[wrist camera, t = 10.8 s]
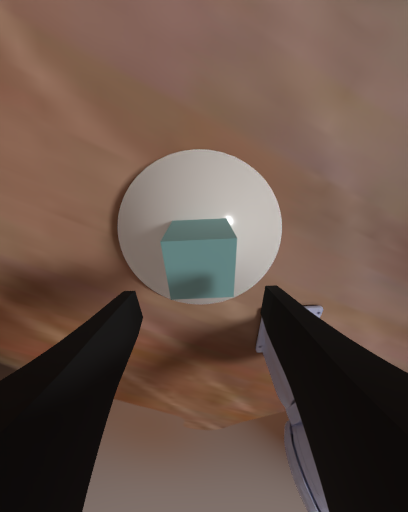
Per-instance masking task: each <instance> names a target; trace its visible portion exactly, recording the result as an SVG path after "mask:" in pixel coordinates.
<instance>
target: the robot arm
mask: <svg viewBox="0 0 408 512" xmlns="http://www.w3.org/2000/svg"><path fill="white" fill-rule="evenodd" d="M322 311H323V308H322V306H303V305H301V304H300V303H299V302H297V301H296V300H295V299H294V298H292V297H291V296H290V295H288V294H287V293H286V292H285V291H283V290H282V289H281V288H279V287H278V286H265V292H264V297H263V303H262V308H261V316H262V318H261V323H260V328H259V333H258V339H257V344H256V352H263V355H264V358H265V361H266V364H267V366H268V369H269V372H270V375H271V378H272V381H273V384H274V387H275V390H276V393H277V395H278V397H279V399H280V401H281V402H282V404H283V405H284V406H285V408H286V412H287V415H288V418H289V421H287V422H286V424H285V434H284V443H285V450H286V455H287V459H288V463H289V467H290V470H291V473H292V475H293V479H294V481H295V484H296V487H297V489H298V492H299V494H300V496H301V499H302V501H303V503H304V505H305V507H306V509H307V511H308V512H408V373H406V372H405V371H403V370H401V369H399V368H398V367H396V366H394V365H392V364H390V363H389V362H387V361H385V360H383V359H382V358H380V357H378V356H377V355H375V354H373V353H372V352H370V351H368V350H367V349H365V348H364V347H362V346H360V345H359V344H357V343H356V342H354V341H352V340H351V339H349V338H348V337H346V336H345V335H343V334H342V333H340V332H339V331H337V330H336V329H334V328H333V327H331V326H330V325H328V324H327V323H326V322H324V321H323V320H321V319H320V316H321V314H322ZM142 319H143V316H142V312H141V309H140V306H139V302H138V299H137V296H136V292H135V291H124V292H122V293H121V294H120V295H118V296H117V297H116V298H115V299H113V300H112V301H111V302H110V303H109V304H107V305H106V306H105V307H104V308H102V309H101V310H100V311H99V312H98V313H96V314H95V315H94V316H93V317H91V318H90V319H89V320H88V321H86V322H85V323H84V324H82V325H81V326H80V327H78V328H77V329H76V330H75V331H73V332H72V333H71V334H69V335H68V336H67V337H65V338H64V339H63V340H61V341H60V342H59V343H57V344H56V345H54V346H53V347H51V348H50V349H49V350H47V351H46V352H44V353H43V354H41V355H40V356H38V357H37V358H35V359H34V360H32V361H31V362H29V363H28V364H26V365H25V366H23V367H22V368H20V369H18V370H17V371H15V372H14V373H12V374H10V375H9V376H7V377H6V378H4V379H2V380H1V381H0V512H82V510H83V506H84V502H85V498H86V493H87V490H88V486H89V482H90V478H91V475H92V471H93V467H94V463H95V460H96V456H97V453H98V449H99V445H100V442H101V438H102V435H103V431H104V428H105V425H106V421H107V418H108V414H109V412H110V408H111V405H112V402H113V399H114V396H115V393H116V390H117V387H118V384H119V382H120V379H121V377H122V374H123V372H124V369H125V367H126V364H127V362H128V359H129V357H130V355H131V352H132V350H133V347H134V345H135V342H136V340H137V337H138V334H139V330H140V327H141V323H142Z"/></svg>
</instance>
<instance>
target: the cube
mask: <svg viewBox="0 0 408 512" xmlns="http://www.w3.org/2000/svg"><path fill="white" fill-rule="evenodd" d="M160 243H161V248H162V254H163V259H164V265H165V270H166V276H167V281H168V287H169V292H170V298H171V300H176V299H199V298H223V297H234V283H235V267H236V250H237V237H236V235H235V233H234V231H233V230H232V228H231V226H230V224H229V222H228V220H227V218H221V219H198V220H176V221H172V222H171V224H170V226H169V227H168V229H167V231H166V233H165V234H164V236H163V238H162V240H161V241H160Z"/></svg>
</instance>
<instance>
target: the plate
mask: <svg viewBox="0 0 408 512" xmlns="http://www.w3.org/2000/svg"><path fill="white" fill-rule="evenodd" d="M221 218H227V220H228V222H229V224H230V226H231V228H232V230H233V231H234V233H235V235H236V237H237V250H236V267H235V283H234V297H236V296H238V295H240V294H242V293H244V292H245V291H247V290H248V289H250V288H251V287H252V286H254V285H255V284H256V283H257V282H258V281H259V280H260V279H261V278H262V277H263V276H264V275H265V274H266V272H267V271H268V269H269V268H270V266H271V265H272V263H273V261H274V259H275V257H276V255H277V252H278V249H279V245H280V242H281V234H282V220H281V213H280V209H279V206H278V202H277V200H276V197H275V195H274V193H273V191H272V189H271V188H270V186H269V185H268V184H267V182H266V181H265V179H264V178H263V177H262V176H261V175H260V174H259V173H258V172H257V171H256V170H255V169H253V168H252V167H251V166H249V165H248V164H247V163H245V162H243V161H241V160H240V159H238V158H236V157H234V156H231V155H228V154H225V153H223V152H218V151H212V150H199V149H195V150H186V151H181V152H177V153H173V154H170V155H168V156H165V157H163V158H161V159H159V160H157V161H155V162H154V163H152V164H151V165H149V166H148V167H146V168H145V169H144V170H143V171H142V172H141V173H140V174H139V175H138V176H137V177H136V178H135V180H134V181H133V182H132V183H131V185H130V186H129V188H128V190H127V192H126V193H125V195H124V198H123V200H122V203H121V206H120V210H119V215H118V227H117V229H118V239H119V243H120V247H121V250H122V253H123V255H124V258H125V260H126V262H127V263H128V265H129V267H130V268H131V270H132V271H133V272H134V274H135V275H136V276H137V277H138V278H139V279H140V280H141V281H142V282H143V283H144V284H145V285H146V286H148V287H149V288H150V289H152V290H153V291H155V292H157V293H158V294H160V295H162V296H164V297H167V298H169V299H171V298H170V292H169V287H168V281H167V276H166V270H165V265H164V259H163V254H162V248H161V243H160V241H161V240H162V238H163V236H164V234H165V233H166V231H167V229H168V227H169V226H170V224H171V222H172V221H176V220H198V219H221ZM234 297H223V298H199V299H176V300H175V301H178V302H183V303H189V304H212V303H217V302H222V301H225V300H229V299H231V298H234Z"/></svg>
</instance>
